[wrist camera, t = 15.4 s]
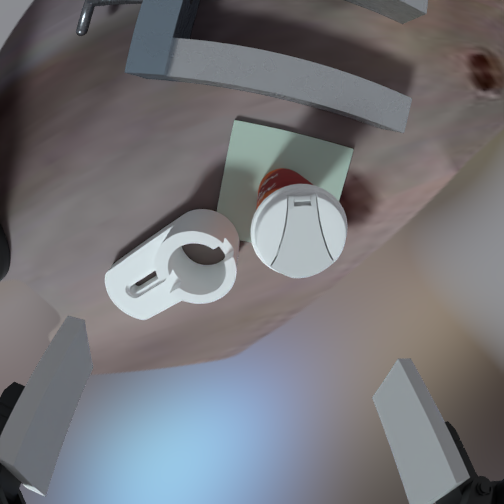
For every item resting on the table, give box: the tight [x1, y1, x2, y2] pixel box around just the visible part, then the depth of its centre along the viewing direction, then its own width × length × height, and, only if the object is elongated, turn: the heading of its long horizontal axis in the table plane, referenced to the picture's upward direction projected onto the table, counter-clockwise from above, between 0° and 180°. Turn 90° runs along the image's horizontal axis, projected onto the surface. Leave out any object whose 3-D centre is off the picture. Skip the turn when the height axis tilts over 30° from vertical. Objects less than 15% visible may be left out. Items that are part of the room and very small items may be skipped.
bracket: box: [105, 209, 239, 320], centre depth 36 cm, size 20×9×7 cm, turn 122°
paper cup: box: [251, 168, 347, 278], centre depth 29 cm, size 8×8×14 cm
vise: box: [76, 0, 428, 133], centre depth 23 cm, size 37×19×7 cm, turn 78°
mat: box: [217, 120, 354, 242], centre depth 36 cm, size 14×14×1 cm
